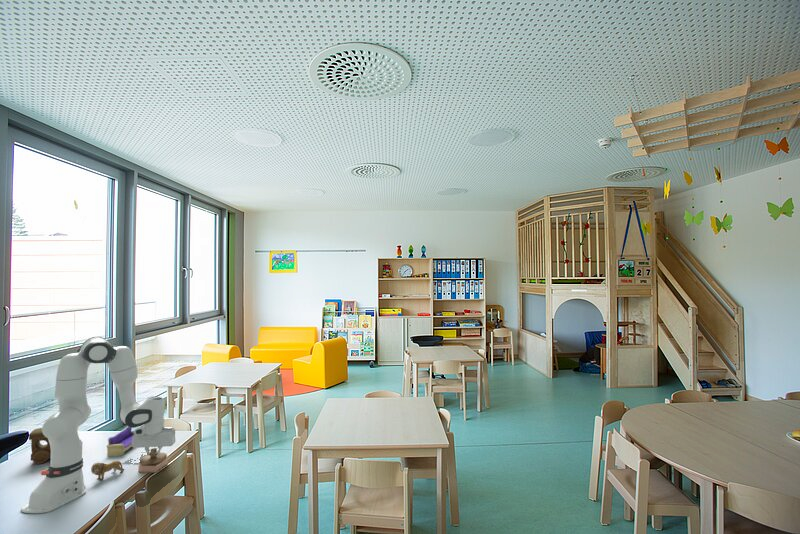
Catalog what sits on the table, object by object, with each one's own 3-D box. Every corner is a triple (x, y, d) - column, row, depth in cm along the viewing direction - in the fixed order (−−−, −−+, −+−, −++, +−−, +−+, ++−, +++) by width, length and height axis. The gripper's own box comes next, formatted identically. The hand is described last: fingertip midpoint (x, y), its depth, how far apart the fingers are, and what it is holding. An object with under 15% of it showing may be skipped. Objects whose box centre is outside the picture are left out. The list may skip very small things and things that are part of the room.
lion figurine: (93, 485, 183) (94, 466, 184) (87, 482, 186) (88, 463, 186) (127, 471, 196) (127, 453, 197) (121, 469, 199) (121, 451, 199)
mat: (146, 465, 203) (146, 464, 203) (120, 464, 203) (121, 464, 203) (163, 453, 217) (163, 453, 217) (140, 453, 217) (140, 452, 217)
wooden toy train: (26, 467, 201) (28, 435, 201) (34, 458, 211) (35, 427, 211) (75, 458, 210) (76, 428, 211) (80, 450, 220) (81, 421, 221)
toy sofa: (122, 456, 213) (123, 438, 214) (105, 457, 213) (106, 438, 213) (143, 441, 234) (144, 424, 235) (128, 441, 233) (129, 424, 234)
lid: (140, 467, 191) (140, 456, 191) (138, 458, 201) (139, 448, 201) (168, 460, 198) (168, 450, 199) (165, 452, 208) (165, 442, 208)
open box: (155, 473, 195) (155, 466, 195) (138, 472, 195) (138, 465, 195) (167, 464, 204) (167, 457, 204) (150, 464, 204) (151, 457, 204)
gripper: (178, 425, 205) (177, 451, 204) (137, 426, 202) (136, 453, 202) (172, 429, 198) (171, 456, 198) (130, 431, 196) (129, 458, 195)
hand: (153, 454), depth 200 cm, fingers closed on lid, 3 cm apart
